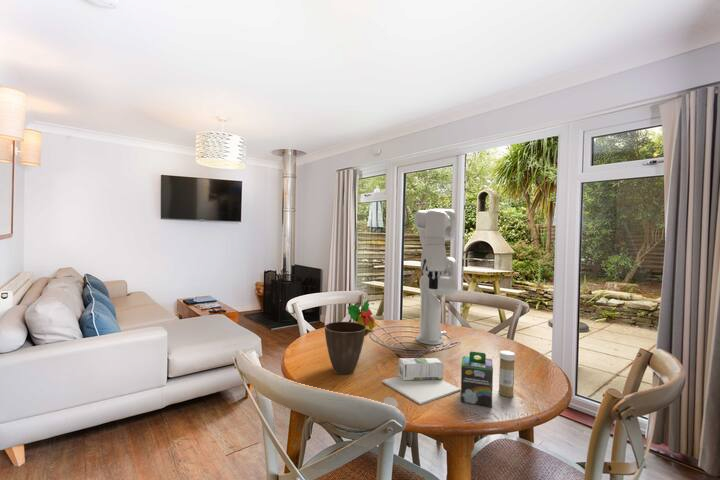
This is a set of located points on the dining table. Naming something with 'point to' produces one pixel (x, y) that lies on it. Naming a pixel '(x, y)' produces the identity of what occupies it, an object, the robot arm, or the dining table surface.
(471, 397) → the chalk box
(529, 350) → the dining table surface
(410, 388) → the mat
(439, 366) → the syrup box
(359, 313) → the ornament
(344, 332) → the plant pot
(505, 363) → the sprinkles bottle
